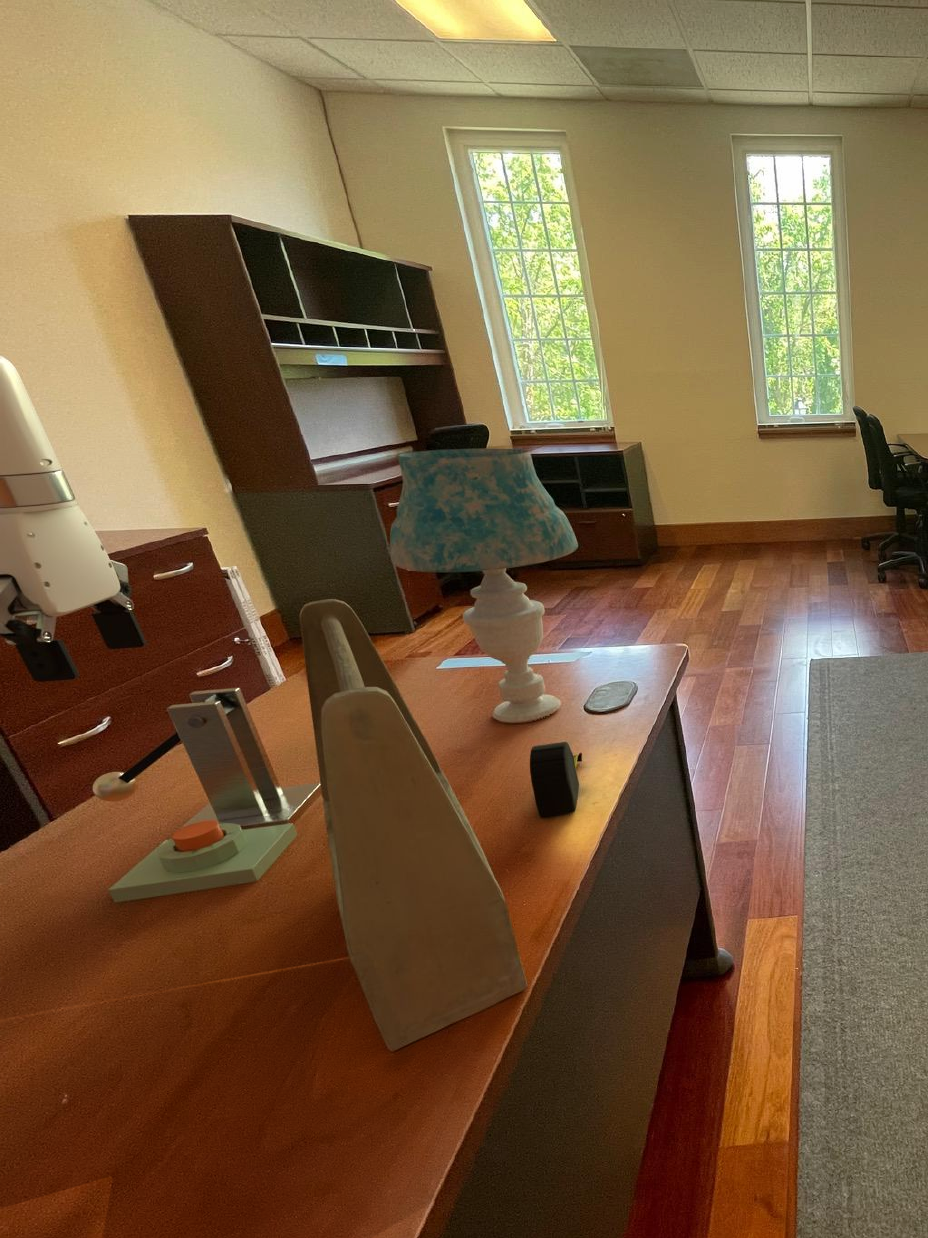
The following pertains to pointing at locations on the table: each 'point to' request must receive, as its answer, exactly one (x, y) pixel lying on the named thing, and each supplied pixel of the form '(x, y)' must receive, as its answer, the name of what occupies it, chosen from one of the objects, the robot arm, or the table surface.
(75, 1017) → the table surface
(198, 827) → the button
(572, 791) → the tape measure
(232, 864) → the button box
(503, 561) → the table lamp
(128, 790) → the lever
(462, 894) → the caddy
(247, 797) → the bracket
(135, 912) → the table surface
